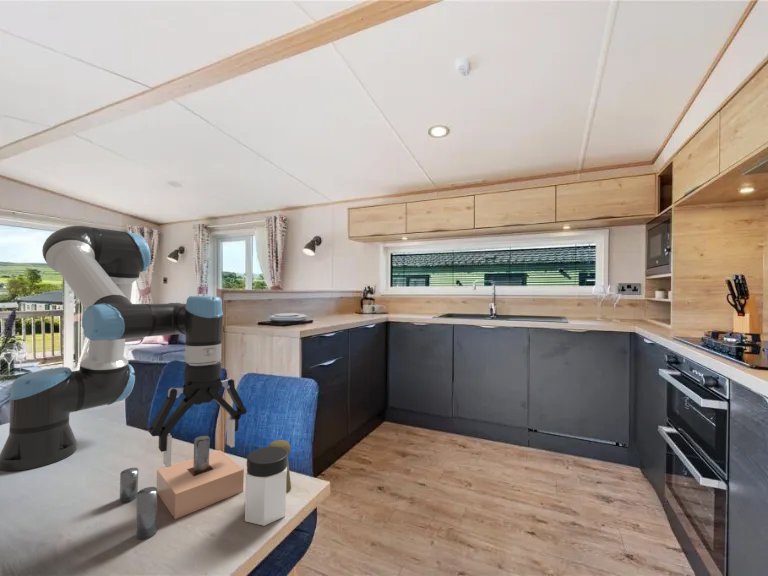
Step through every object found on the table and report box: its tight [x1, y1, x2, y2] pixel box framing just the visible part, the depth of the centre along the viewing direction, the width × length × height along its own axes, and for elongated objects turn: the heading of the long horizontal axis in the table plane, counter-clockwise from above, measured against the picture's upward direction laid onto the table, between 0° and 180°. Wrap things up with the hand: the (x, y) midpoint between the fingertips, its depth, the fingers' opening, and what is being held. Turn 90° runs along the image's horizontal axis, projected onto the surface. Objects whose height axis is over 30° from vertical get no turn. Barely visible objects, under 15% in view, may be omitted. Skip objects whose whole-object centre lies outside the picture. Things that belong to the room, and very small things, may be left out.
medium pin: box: [135, 486, 158, 541], centre depth 65 cm, size 3×3×8 cm
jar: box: [244, 446, 289, 527], centre depth 72 cm, size 9×8×12 cm
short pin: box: [119, 467, 139, 504], centre depth 76 cm, size 3×3×6 cm
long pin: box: [193, 435, 211, 476], centre depth 79 cm, size 3×3×12 cm
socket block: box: [155, 449, 245, 520], centre depth 79 cm, size 14×14×5 cm
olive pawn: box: [267, 439, 292, 494], centre depth 80 cm, size 6×6×11 cm
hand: (200, 454), depth 79 cm, fingers open, 13 cm apart
